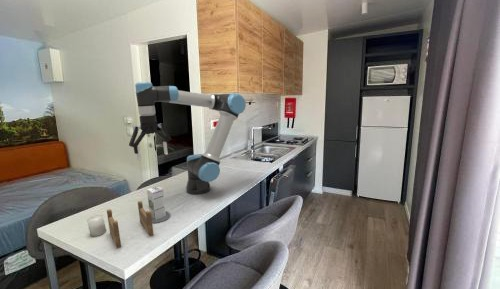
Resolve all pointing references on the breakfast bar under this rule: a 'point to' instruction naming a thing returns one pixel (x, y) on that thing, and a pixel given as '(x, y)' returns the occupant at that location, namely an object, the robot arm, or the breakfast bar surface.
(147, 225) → the oak stand
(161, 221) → the slate coaster
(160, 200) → the syrup box
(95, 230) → the off-white capsule
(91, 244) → the breakfast bar surface
